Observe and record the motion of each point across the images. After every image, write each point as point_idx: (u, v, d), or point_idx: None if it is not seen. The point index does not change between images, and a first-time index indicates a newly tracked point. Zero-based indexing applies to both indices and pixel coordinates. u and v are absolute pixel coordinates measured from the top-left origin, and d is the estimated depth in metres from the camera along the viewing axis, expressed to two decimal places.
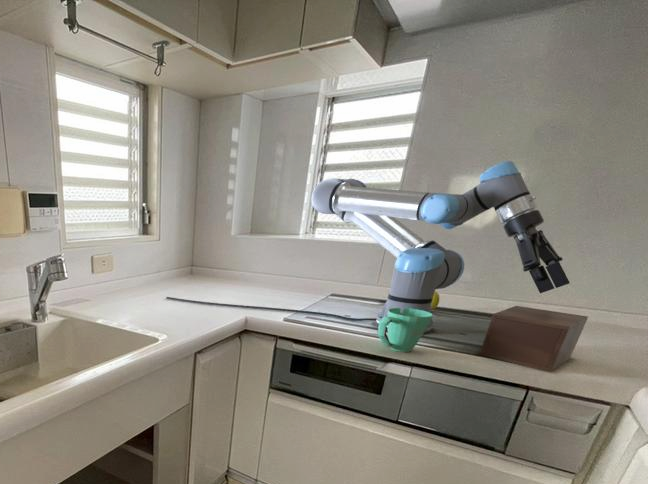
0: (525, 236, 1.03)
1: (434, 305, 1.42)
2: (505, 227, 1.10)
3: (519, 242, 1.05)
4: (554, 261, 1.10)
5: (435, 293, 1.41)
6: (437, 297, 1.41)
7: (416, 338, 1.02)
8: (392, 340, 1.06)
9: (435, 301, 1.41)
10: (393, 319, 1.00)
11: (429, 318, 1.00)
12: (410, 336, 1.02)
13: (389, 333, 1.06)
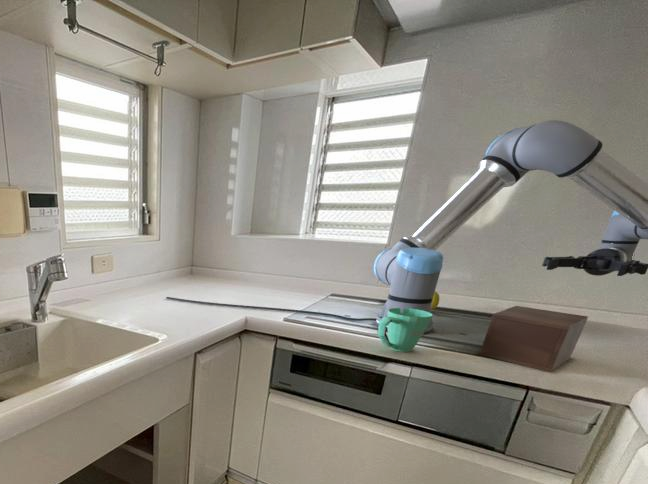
0: None
1: (434, 305, 1.42)
2: (619, 251, 1.14)
3: None
4: None
5: (435, 293, 1.41)
6: (437, 297, 1.41)
7: (416, 338, 1.02)
8: (392, 340, 1.06)
9: (435, 301, 1.41)
10: (393, 319, 1.00)
11: (429, 318, 1.00)
12: (410, 336, 1.02)
13: (389, 333, 1.06)
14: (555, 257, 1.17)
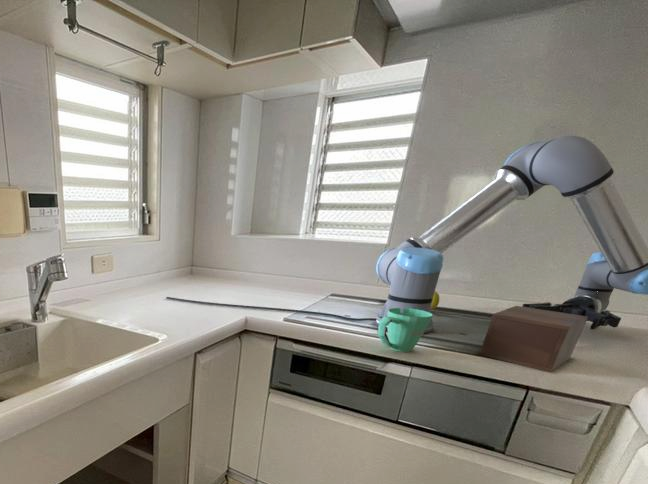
0: None
1: (434, 305, 1.42)
2: (594, 300, 1.17)
3: None
4: None
5: (435, 293, 1.41)
6: (437, 297, 1.41)
7: (416, 338, 1.02)
8: (392, 340, 1.06)
9: (435, 301, 1.41)
10: (393, 319, 1.00)
11: (429, 318, 1.00)
12: (410, 336, 1.02)
13: (389, 333, 1.06)
14: (533, 304, 1.20)
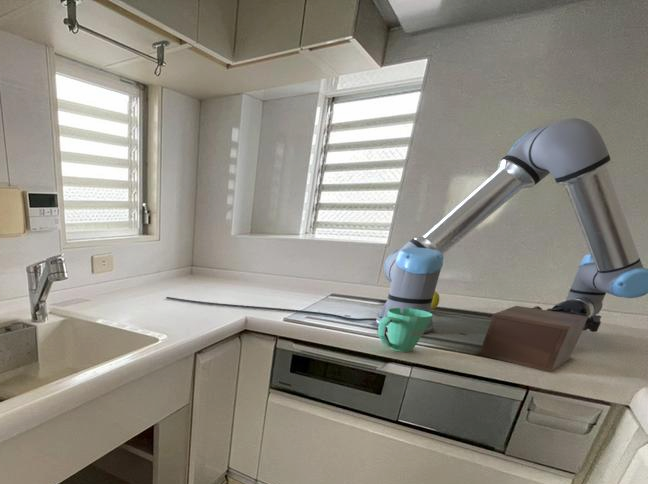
0: None
1: (434, 305, 1.42)
2: (585, 304, 1.12)
3: None
4: None
5: (435, 293, 1.41)
6: (437, 297, 1.41)
7: (416, 338, 1.02)
8: (392, 340, 1.06)
9: (435, 301, 1.41)
10: (393, 319, 1.00)
11: (429, 318, 1.00)
12: (410, 336, 1.02)
13: (389, 333, 1.06)
14: None
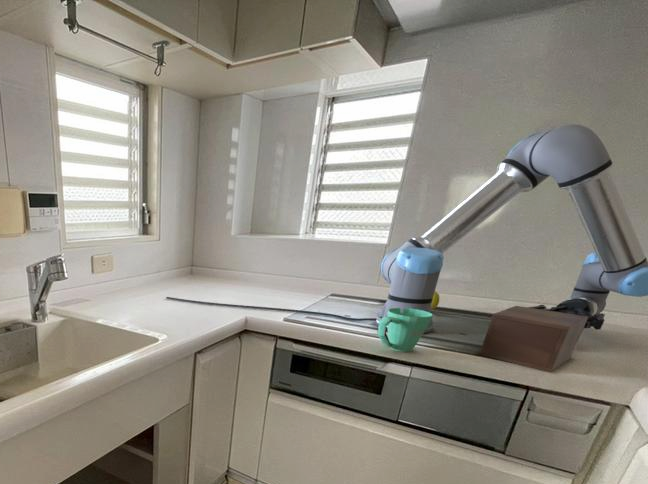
0: None
1: (434, 305, 1.42)
2: (589, 302, 1.14)
3: None
4: None
5: (435, 293, 1.41)
6: (437, 297, 1.41)
7: (416, 338, 1.02)
8: (392, 340, 1.06)
9: (435, 301, 1.41)
10: (393, 319, 1.00)
11: (429, 318, 1.00)
12: (410, 336, 1.02)
13: (389, 333, 1.06)
14: None
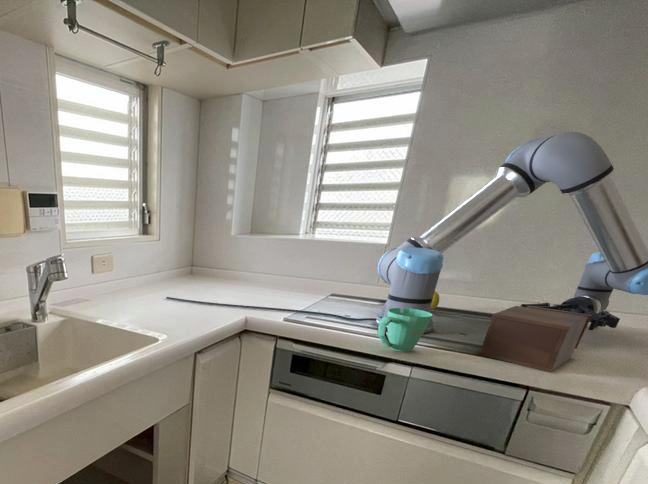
0: None
1: (434, 305, 1.42)
2: (593, 301, 1.16)
3: None
4: None
5: (435, 293, 1.41)
6: (437, 297, 1.41)
7: (416, 338, 1.02)
8: (392, 340, 1.06)
9: (435, 301, 1.41)
10: (393, 319, 1.00)
11: (429, 318, 1.00)
12: (410, 336, 1.02)
13: (389, 333, 1.06)
14: (531, 304, 1.19)
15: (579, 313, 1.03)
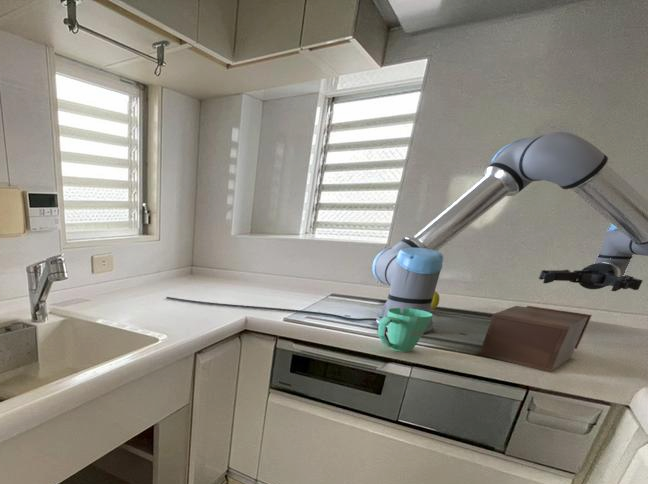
0: None
1: (434, 305, 1.42)
2: (613, 266, 1.17)
3: None
4: None
5: (435, 293, 1.41)
6: (437, 297, 1.41)
7: (416, 338, 1.02)
8: (392, 340, 1.06)
9: (435, 301, 1.41)
10: (393, 319, 1.00)
11: (429, 318, 1.00)
12: (410, 336, 1.02)
13: (389, 333, 1.06)
14: (551, 271, 1.20)
15: (579, 313, 1.03)
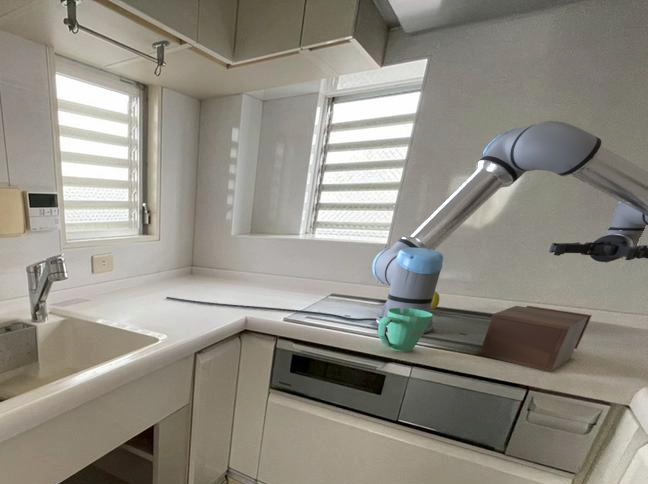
0: None
1: (434, 305, 1.42)
2: (626, 238, 1.13)
3: None
4: None
5: (435, 293, 1.41)
6: (437, 297, 1.41)
7: (416, 338, 1.02)
8: (392, 340, 1.06)
9: (435, 301, 1.41)
10: (393, 319, 1.00)
11: (429, 318, 1.00)
12: (410, 336, 1.02)
13: (389, 333, 1.06)
14: (562, 243, 1.17)
15: (579, 313, 1.03)
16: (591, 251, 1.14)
